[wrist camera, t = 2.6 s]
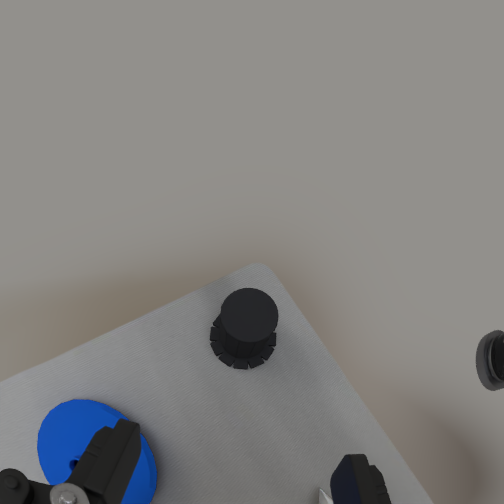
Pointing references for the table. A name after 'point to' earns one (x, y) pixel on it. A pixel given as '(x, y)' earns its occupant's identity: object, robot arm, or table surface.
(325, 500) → the cartoon head
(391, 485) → the table surface
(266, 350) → the black hat
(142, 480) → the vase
